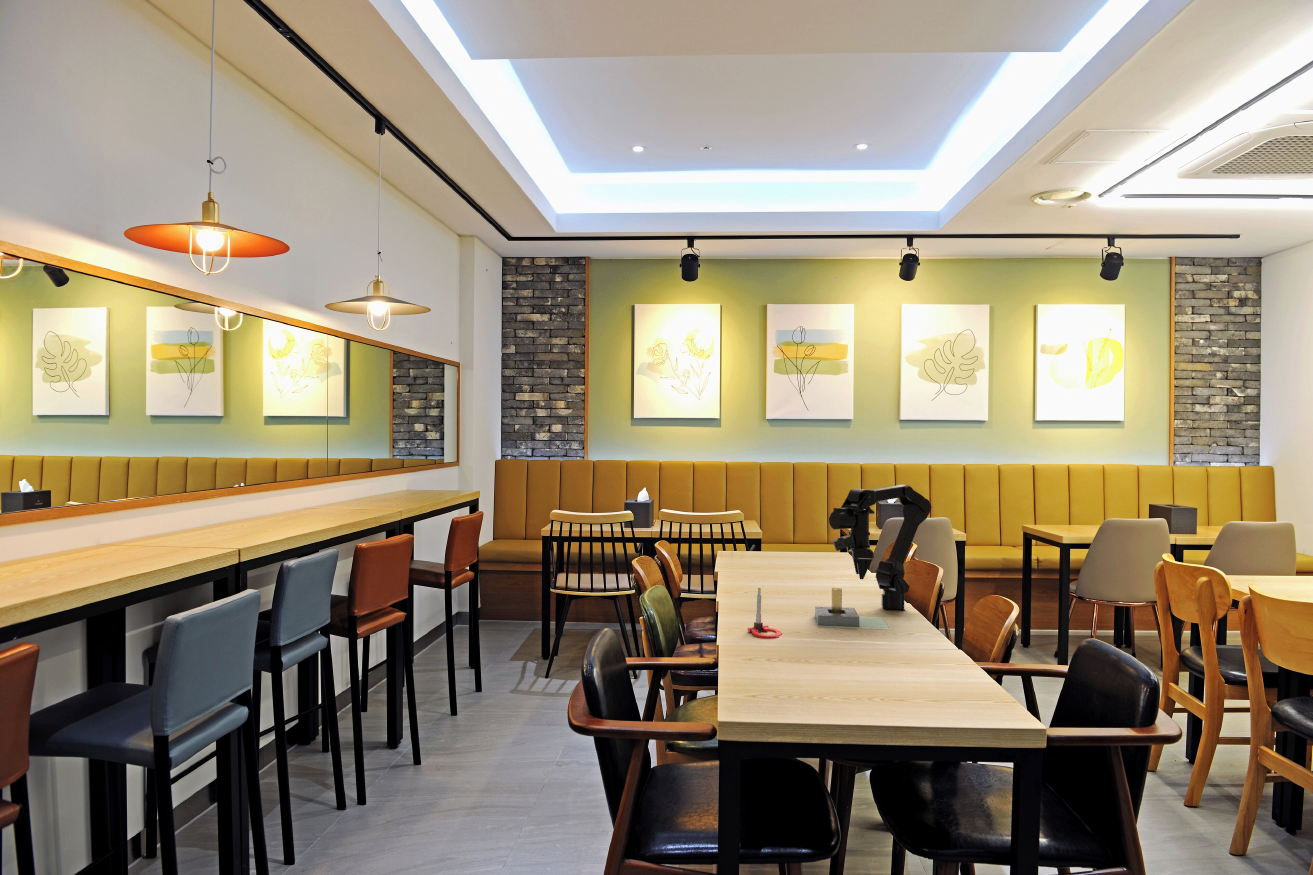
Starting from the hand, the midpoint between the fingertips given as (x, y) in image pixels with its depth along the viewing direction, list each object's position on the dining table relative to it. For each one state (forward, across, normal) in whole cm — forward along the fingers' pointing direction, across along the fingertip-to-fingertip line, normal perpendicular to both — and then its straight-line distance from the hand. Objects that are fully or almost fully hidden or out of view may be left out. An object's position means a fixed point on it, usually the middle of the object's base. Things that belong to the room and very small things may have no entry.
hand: (859, 576), depth 235 cm
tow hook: (+12, +30, -30) cm, 44 cm away
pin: (+12, +13, -8) cm, 19 cm away
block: (+12, +13, -8) cm, 19 cm away
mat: (+12, +13, -4) cm, 18 cm away
